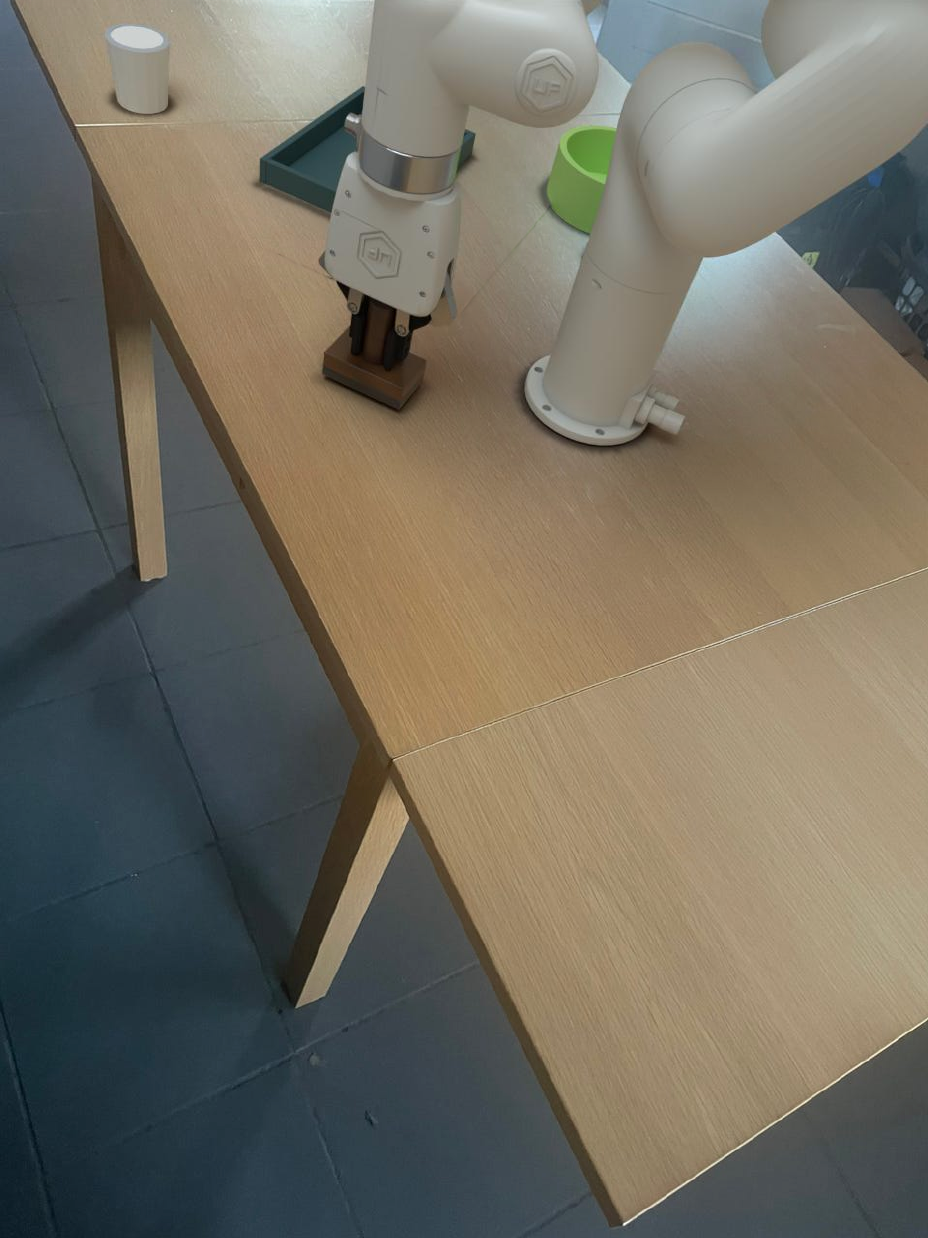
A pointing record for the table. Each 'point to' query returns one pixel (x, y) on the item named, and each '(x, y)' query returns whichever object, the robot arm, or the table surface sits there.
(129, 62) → the white cup
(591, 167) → the food container
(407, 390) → the stamp
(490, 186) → the table surface
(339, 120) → the tray
